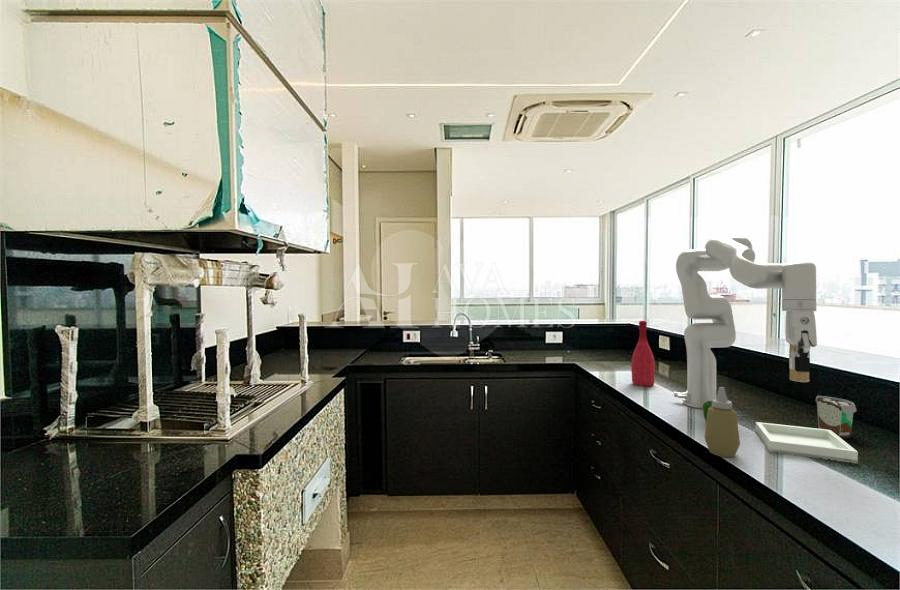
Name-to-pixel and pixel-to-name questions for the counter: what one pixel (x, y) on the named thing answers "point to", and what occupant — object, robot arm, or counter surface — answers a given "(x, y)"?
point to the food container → (835, 415)
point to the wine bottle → (643, 360)
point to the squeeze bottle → (722, 427)
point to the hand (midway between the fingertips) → (799, 369)
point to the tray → (805, 442)
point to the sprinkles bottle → (794, 374)
